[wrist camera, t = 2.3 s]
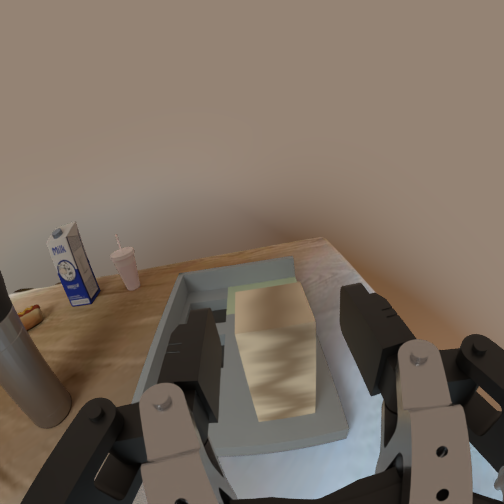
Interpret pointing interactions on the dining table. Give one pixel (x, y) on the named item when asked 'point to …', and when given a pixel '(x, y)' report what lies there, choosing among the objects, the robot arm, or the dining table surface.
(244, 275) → the trap deck
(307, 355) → the maple block
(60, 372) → the dining table surface
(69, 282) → the milk carton
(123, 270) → the smoothie
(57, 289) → the dining table surface
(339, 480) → the dining table surface
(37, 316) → the food
